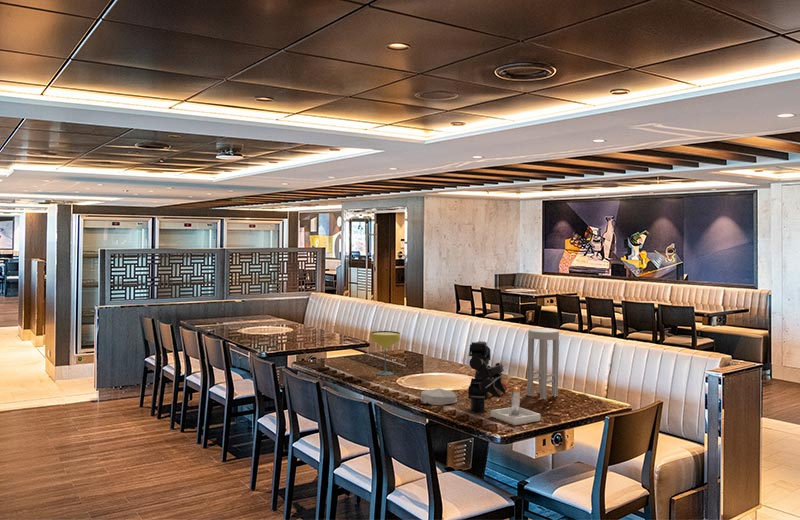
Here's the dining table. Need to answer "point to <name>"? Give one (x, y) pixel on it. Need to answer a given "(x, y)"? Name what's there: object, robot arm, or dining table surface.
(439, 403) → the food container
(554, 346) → the stool
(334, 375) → the dining table surface
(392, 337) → the cocktail glass
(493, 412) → the pin tray
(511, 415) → the pin
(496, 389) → the kendama
